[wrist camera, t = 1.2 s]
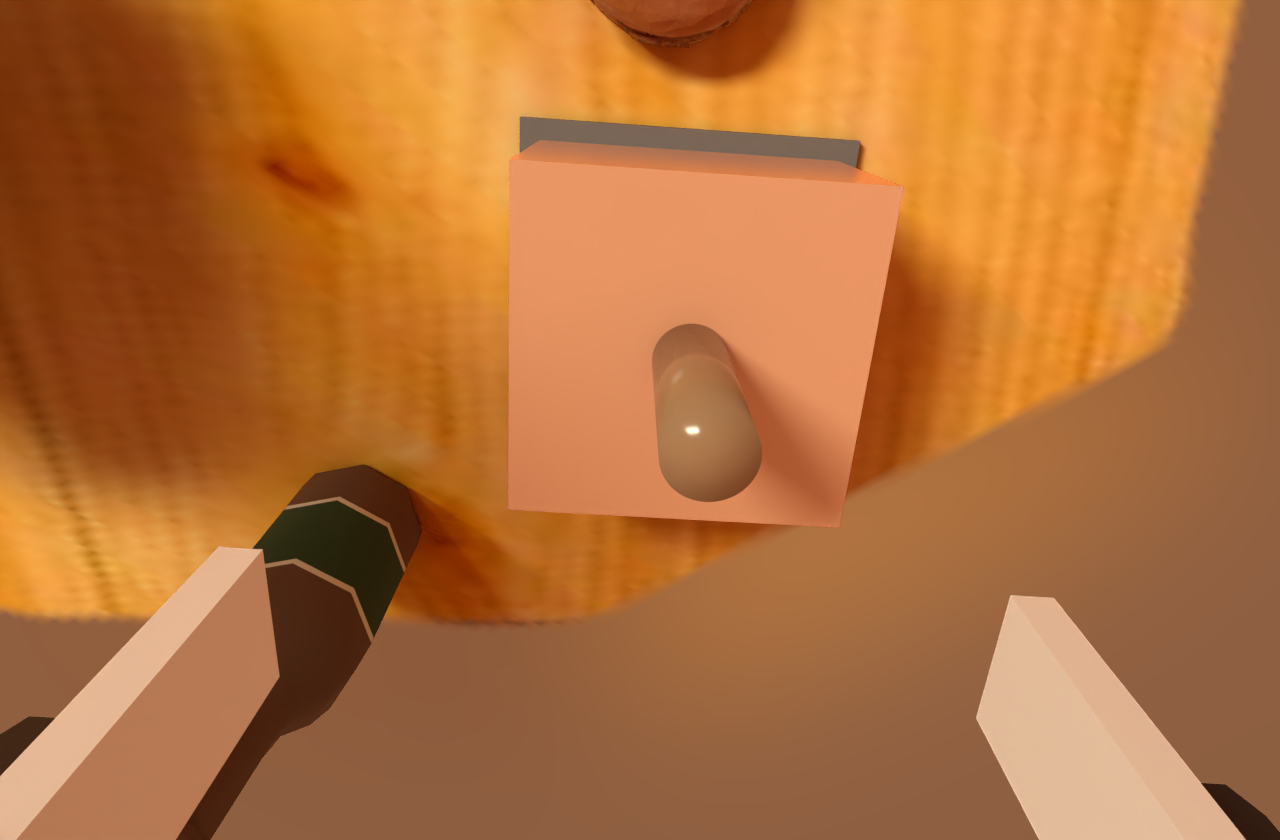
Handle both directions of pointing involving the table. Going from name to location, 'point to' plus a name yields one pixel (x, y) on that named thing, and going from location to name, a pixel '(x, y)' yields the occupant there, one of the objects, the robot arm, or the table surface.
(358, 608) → the beer bottle
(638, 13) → the burger
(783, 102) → the table surface
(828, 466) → the pink box with peg
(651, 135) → the mat
